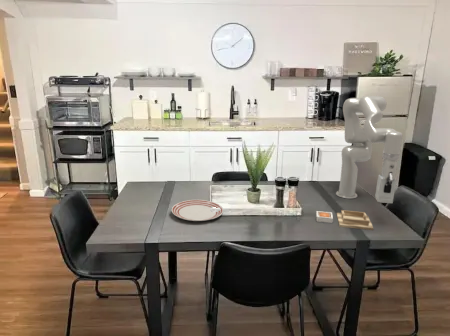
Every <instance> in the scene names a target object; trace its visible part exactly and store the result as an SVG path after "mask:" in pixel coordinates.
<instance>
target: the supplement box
mask: <svg viewBox="0 0 450 336" xmlns="http://www.w3.org/2000/svg"><path fill="white" fill-rule="evenodd" d="M387 179H389V178H387ZM376 182H377V183H376V187H375V188H376V189H375V195H374V198H375V200H376V201H377V203H384V204H385V203H386V204H393V202H394V196H395V191H396V186H397V179H396V178H395V180H393V181H392V187H391V193H384V186H385V183H386V180H385V179H384V177H383V176H382V174H378V176H377V181H376ZM387 182H388V180H387Z"/></svg>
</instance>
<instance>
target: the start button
mask: <svg viewBox="0 0 450 336" xmlns="http://www.w3.org/2000/svg"><path fill="white" fill-rule="evenodd" d="M325 212H326V211H322V213H320V217H329V214H328V213H325Z"/></svg>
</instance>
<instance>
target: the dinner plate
mask: <svg viewBox="0 0 450 336" xmlns="http://www.w3.org/2000/svg"><path fill="white" fill-rule="evenodd" d="M211 206H212V207H216V208H220V209H221V210H220V211H218V212H215V213H213V212H211V211H210V208H211ZM171 213H172V214H173V215H174V216H176V217H177V218H179V219H182V220H186V221H193V222H204V221H210V220H214V219H217V218H219V217H220V216H221V215H222V214H223V213H224V208H223V206H222V205H220V204H218V203H217V202H214V201H210V200H206V199H188V200H184V201H180V202H178V203H176V204H174V205H173V206H172V208H171Z"/></svg>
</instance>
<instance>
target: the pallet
mask: <svg viewBox="0 0 450 336" xmlns="http://www.w3.org/2000/svg"><path fill="white" fill-rule="evenodd" d="M340 211H341V212H336V219H337V222H338V226H339V228H347V229H358V230H367V231H374V226H373V223H372V221H371V220H370V217H369V215H367V214H366V212H365V211H356V210H344V209H341V210H340Z"/></svg>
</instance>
